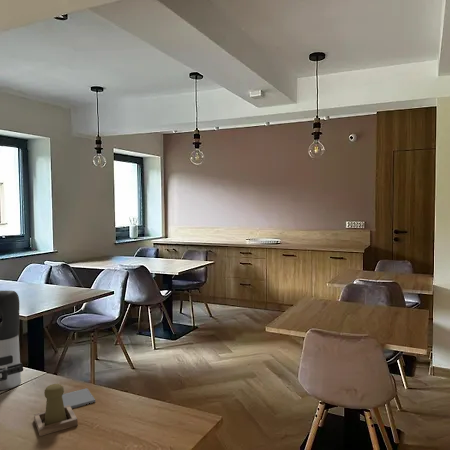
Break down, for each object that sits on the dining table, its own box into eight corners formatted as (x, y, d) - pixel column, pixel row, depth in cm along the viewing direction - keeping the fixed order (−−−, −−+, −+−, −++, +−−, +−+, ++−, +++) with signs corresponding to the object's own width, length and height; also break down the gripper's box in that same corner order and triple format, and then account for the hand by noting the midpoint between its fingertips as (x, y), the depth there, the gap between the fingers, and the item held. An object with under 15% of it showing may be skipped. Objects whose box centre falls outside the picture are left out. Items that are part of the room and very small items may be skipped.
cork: (59, 415, 127) (58, 379, 126) (70, 421, 123) (69, 384, 122) (40, 423, 122) (38, 386, 121) (51, 430, 118) (49, 392, 117)
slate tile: (55, 398, 137) (55, 395, 137) (87, 390, 143) (87, 388, 143) (62, 411, 129) (62, 408, 129) (95, 402, 134) (95, 399, 134)
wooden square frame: (34, 420, 124) (33, 414, 124) (69, 410, 129) (69, 404, 129) (39, 436, 115) (39, 429, 115) (77, 425, 121) (77, 419, 121)
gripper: (-48, 372, 98) (26, 355, 109) (-60, 357, 109) (8, 343, 120) (-46, 404, 98) (27, 384, 110) (-59, 386, 109) (9, 369, 120)
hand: (17, 362), depth 115 cm, fingers open, 8 cm apart
